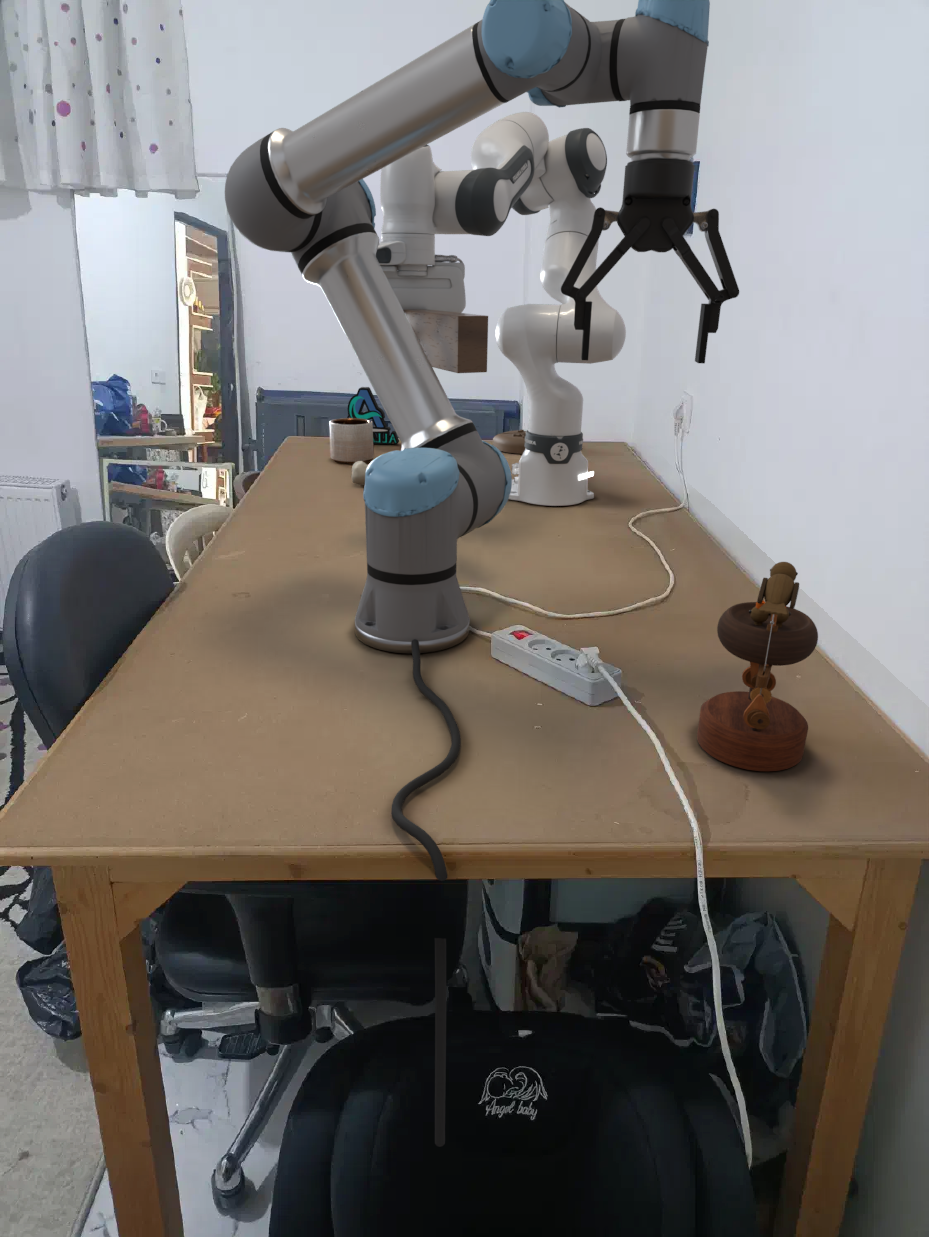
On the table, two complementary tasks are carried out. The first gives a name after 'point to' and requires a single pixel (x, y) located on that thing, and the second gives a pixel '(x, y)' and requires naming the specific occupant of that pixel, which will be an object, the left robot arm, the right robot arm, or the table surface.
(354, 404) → the decorative sign
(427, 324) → the bar
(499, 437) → the brown rounded slab
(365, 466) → the dog toy
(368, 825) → the table surface
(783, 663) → the wooden figurine sculpture
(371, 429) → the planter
